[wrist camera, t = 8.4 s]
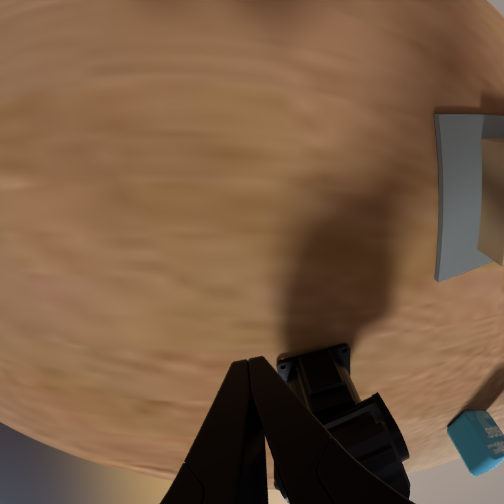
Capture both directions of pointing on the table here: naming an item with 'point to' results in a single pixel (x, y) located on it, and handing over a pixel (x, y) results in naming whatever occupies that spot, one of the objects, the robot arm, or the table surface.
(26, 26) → the table surface
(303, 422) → the robot arm
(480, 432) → the data package
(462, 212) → the mat
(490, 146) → the slab
